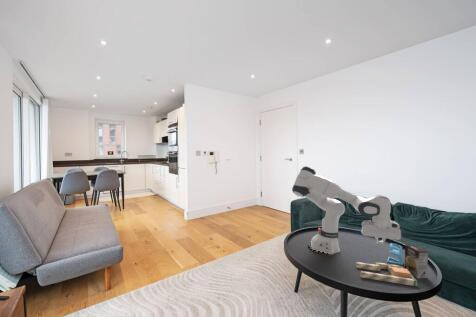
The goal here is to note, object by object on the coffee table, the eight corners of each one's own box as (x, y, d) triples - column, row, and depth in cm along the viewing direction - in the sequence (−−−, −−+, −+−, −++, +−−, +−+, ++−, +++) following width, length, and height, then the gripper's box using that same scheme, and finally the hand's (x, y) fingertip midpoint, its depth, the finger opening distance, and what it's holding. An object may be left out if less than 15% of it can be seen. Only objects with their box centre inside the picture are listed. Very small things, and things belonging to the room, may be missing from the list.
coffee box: (403, 269, 131) (404, 244, 130) (413, 269, 131) (414, 244, 131) (417, 278, 122) (418, 251, 121) (427, 278, 122) (428, 251, 122)
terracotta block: (394, 279, 121) (394, 271, 121) (390, 274, 126) (390, 266, 126) (410, 282, 119) (410, 273, 118) (406, 277, 123) (406, 268, 123)
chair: (402, 266, 134) (403, 248, 134) (386, 262, 140) (387, 244, 139) (403, 262, 140) (404, 244, 139) (388, 257, 145) (389, 240, 145)
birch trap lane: (361, 277, 123) (361, 272, 123) (355, 263, 138) (355, 259, 138) (417, 286, 115) (417, 281, 115) (404, 270, 129) (404, 266, 129)
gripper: (363, 221, 127) (362, 244, 128) (403, 225, 121) (401, 249, 122) (360, 218, 133) (359, 239, 134) (398, 222, 127) (397, 244, 128)
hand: (380, 244), depth 128 cm, fingers closed
